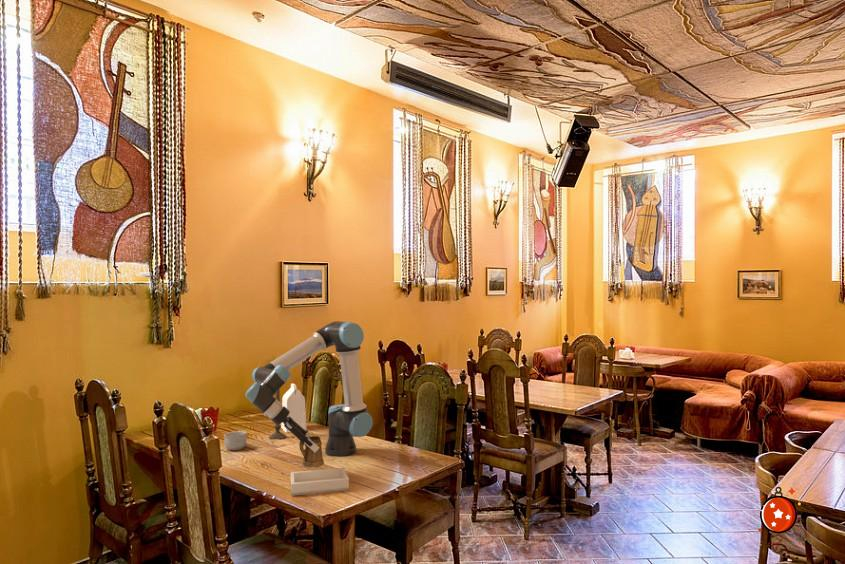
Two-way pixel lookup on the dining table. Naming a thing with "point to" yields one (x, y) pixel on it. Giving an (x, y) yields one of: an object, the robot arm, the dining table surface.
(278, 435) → the candlestick holder
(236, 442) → the teacup
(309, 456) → the wooden mug
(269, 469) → the dining table surface
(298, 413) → the milk
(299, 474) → the tray
